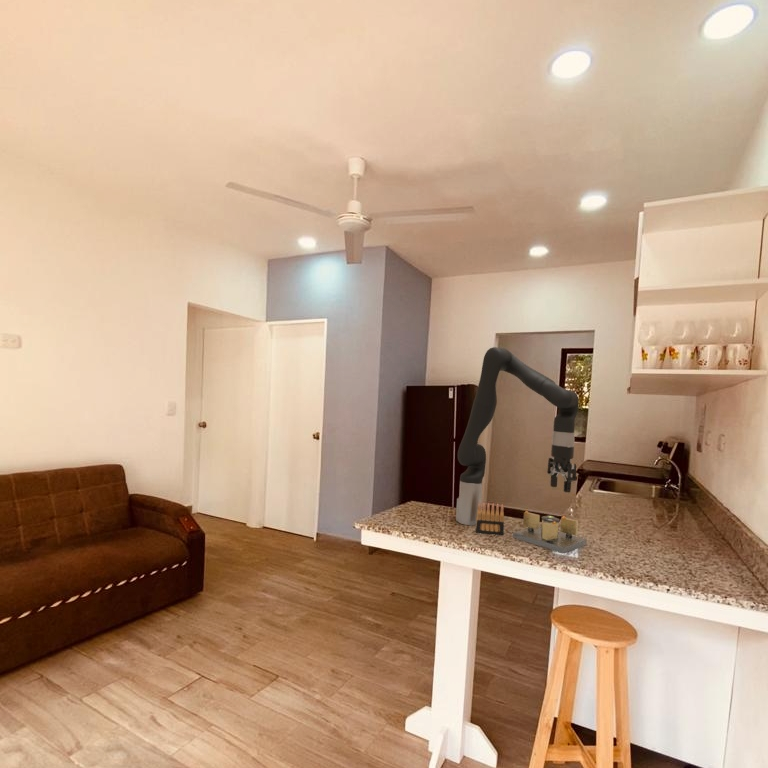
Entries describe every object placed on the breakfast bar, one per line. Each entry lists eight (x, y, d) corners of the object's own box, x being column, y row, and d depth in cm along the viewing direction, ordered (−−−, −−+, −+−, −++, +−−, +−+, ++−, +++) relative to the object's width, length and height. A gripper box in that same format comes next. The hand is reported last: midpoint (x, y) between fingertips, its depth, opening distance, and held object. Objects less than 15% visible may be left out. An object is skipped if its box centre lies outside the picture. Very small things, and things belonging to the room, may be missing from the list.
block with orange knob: (535, 532, 169) (536, 514, 170) (523, 528, 174) (523, 510, 174) (538, 531, 171) (539, 513, 171) (526, 528, 175) (526, 510, 175)
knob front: (541, 541, 158) (542, 521, 158) (552, 540, 161) (553, 520, 161) (547, 543, 156) (548, 523, 156) (557, 541, 159) (558, 522, 159)
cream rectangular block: (575, 538, 165) (576, 519, 165) (560, 535, 168) (561, 516, 168) (577, 537, 166) (578, 518, 167) (562, 534, 170) (563, 515, 170)
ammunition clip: (475, 533, 170) (477, 502, 171) (475, 531, 172) (476, 501, 173) (503, 535, 170) (505, 504, 170) (502, 534, 171) (504, 503, 172)
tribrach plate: (513, 537, 167) (514, 513, 168) (537, 530, 179) (538, 508, 180) (563, 553, 152) (564, 526, 153) (586, 545, 164) (587, 520, 165)
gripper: (543, 441, 165) (540, 484, 164) (564, 446, 151) (561, 493, 150) (561, 442, 166) (558, 485, 165) (584, 447, 152) (581, 494, 151)
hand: (560, 489), depth 158 cm, fingers open, 8 cm apart
